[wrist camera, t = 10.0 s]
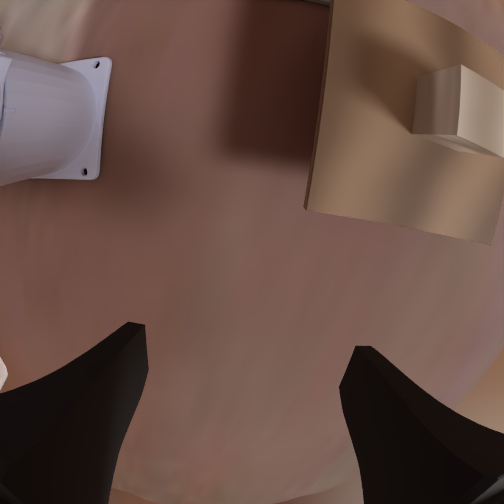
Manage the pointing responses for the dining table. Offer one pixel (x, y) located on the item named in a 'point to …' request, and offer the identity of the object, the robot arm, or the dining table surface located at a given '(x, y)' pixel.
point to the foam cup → (2, 373)
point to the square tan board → (408, 122)
